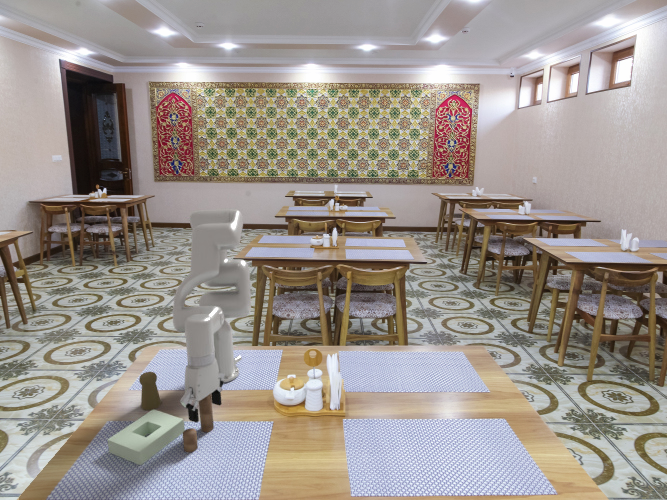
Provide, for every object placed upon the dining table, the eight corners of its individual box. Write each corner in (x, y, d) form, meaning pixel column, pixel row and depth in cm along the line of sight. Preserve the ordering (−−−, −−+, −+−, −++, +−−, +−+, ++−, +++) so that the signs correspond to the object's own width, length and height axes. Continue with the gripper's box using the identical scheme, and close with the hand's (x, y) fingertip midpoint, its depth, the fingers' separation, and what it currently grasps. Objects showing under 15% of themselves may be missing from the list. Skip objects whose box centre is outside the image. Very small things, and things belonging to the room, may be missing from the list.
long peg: (206, 423, 139) (203, 387, 136) (216, 426, 137) (213, 390, 135) (198, 430, 136) (195, 393, 133) (208, 433, 134) (204, 396, 132)
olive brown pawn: (154, 411, 146) (150, 379, 143) (137, 409, 147) (133, 377, 144) (164, 400, 152) (161, 370, 149) (148, 398, 153) (144, 368, 150)
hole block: (154, 421, 141) (153, 409, 140) (184, 431, 135) (183, 419, 134) (109, 452, 127) (107, 439, 126) (140, 465, 121) (139, 452, 120)
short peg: (190, 442, 130) (189, 427, 129) (200, 446, 129) (199, 430, 128) (181, 450, 127) (179, 434, 126) (191, 454, 126) (189, 437, 124)
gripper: (211, 344, 140) (215, 395, 144) (168, 368, 125) (174, 424, 129) (231, 348, 137) (234, 400, 141) (189, 373, 122) (194, 431, 126)
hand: (205, 412), depth 135 cm, fingers open, 9 cm apart
